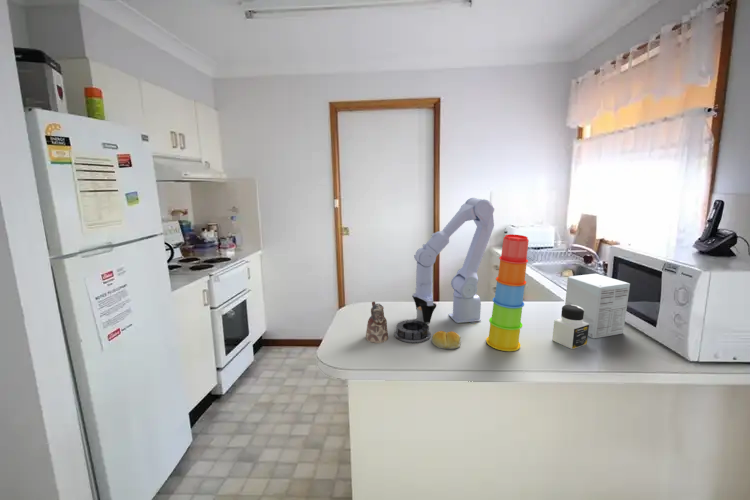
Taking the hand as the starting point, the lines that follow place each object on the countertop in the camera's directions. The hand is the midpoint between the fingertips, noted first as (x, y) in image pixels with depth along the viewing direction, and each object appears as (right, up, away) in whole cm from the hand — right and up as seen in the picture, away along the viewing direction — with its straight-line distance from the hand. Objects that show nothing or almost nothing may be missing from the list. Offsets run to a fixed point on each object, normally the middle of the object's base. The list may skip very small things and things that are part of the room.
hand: (423, 318), depth 134 cm
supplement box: (+57, -3, -6) cm, 58 cm away
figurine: (-17, -5, -13) cm, 22 cm away
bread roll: (+5, -5, -17) cm, 18 cm away
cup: (0, -1, 0) cm, 2 cm away
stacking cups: (+23, -5, -18) cm, 29 cm away
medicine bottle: (+44, -5, -17) cm, 47 cm away
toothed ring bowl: (-5, -4, -11) cm, 12 cm away
